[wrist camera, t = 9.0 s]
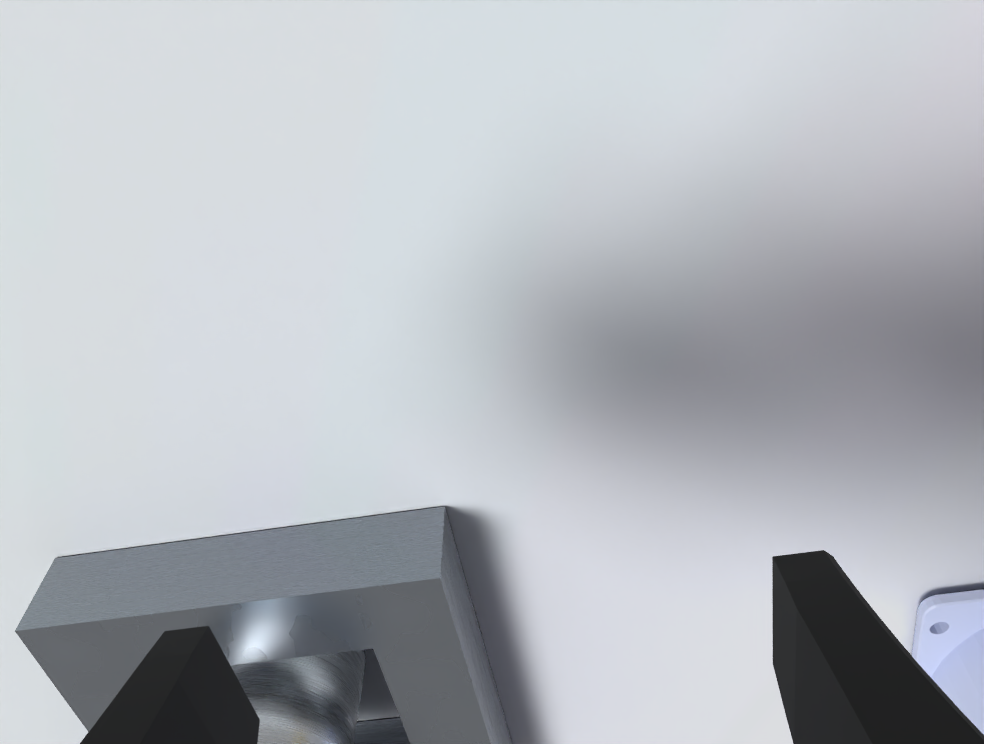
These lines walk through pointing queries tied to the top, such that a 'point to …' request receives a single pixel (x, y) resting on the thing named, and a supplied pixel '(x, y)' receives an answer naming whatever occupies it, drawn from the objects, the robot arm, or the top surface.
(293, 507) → the top surface
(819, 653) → the robot arm
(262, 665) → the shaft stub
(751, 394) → the top surface
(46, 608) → the grey square frame
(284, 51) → the top surface
